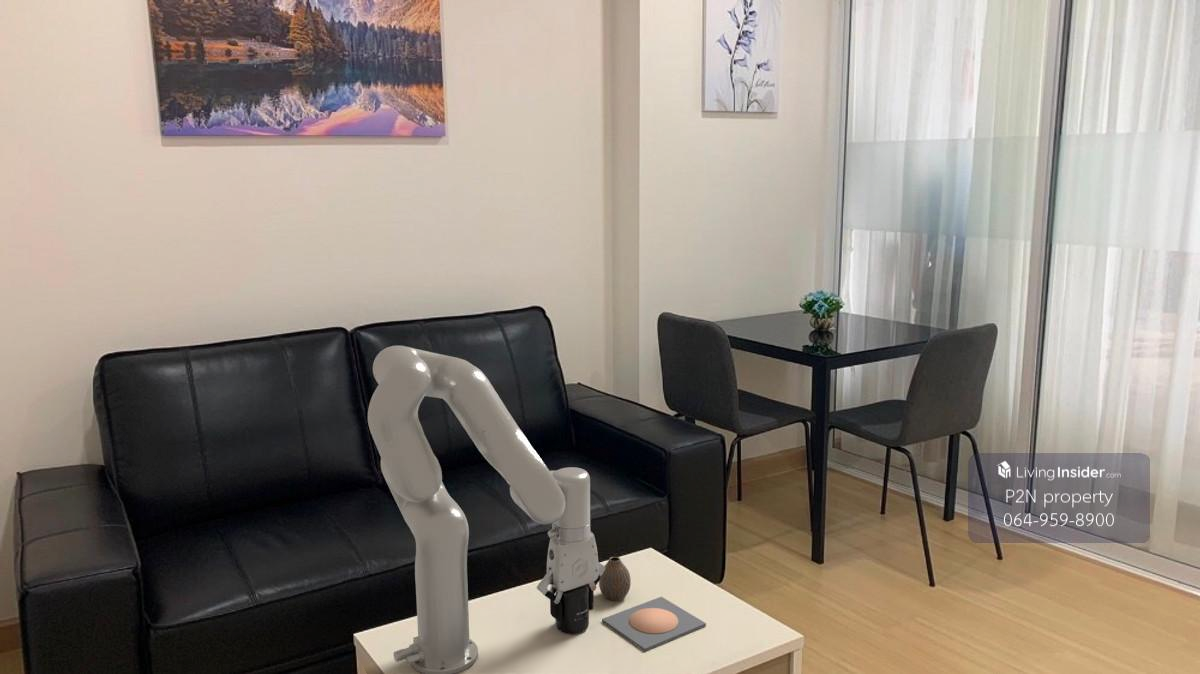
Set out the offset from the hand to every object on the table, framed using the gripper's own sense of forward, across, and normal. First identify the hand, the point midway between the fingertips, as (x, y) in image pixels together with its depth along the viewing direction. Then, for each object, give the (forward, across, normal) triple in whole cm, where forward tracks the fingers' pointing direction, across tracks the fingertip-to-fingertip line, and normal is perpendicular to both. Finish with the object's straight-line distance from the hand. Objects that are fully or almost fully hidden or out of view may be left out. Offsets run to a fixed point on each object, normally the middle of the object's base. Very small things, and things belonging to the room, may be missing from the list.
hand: (572, 612), depth 173 cm
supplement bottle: (+3, 0, 0) cm, 3 cm away
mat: (+3, +14, -9) cm, 17 cm away
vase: (+3, +15, +5) cm, 16 cm away
